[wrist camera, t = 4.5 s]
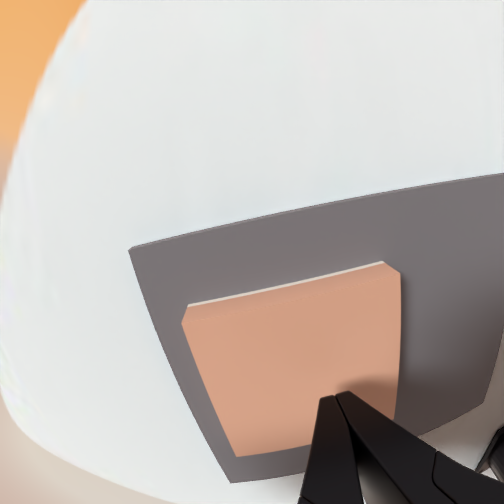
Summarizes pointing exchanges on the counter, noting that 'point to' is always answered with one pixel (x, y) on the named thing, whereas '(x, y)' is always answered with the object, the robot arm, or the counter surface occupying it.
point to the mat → (343, 258)
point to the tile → (297, 353)
